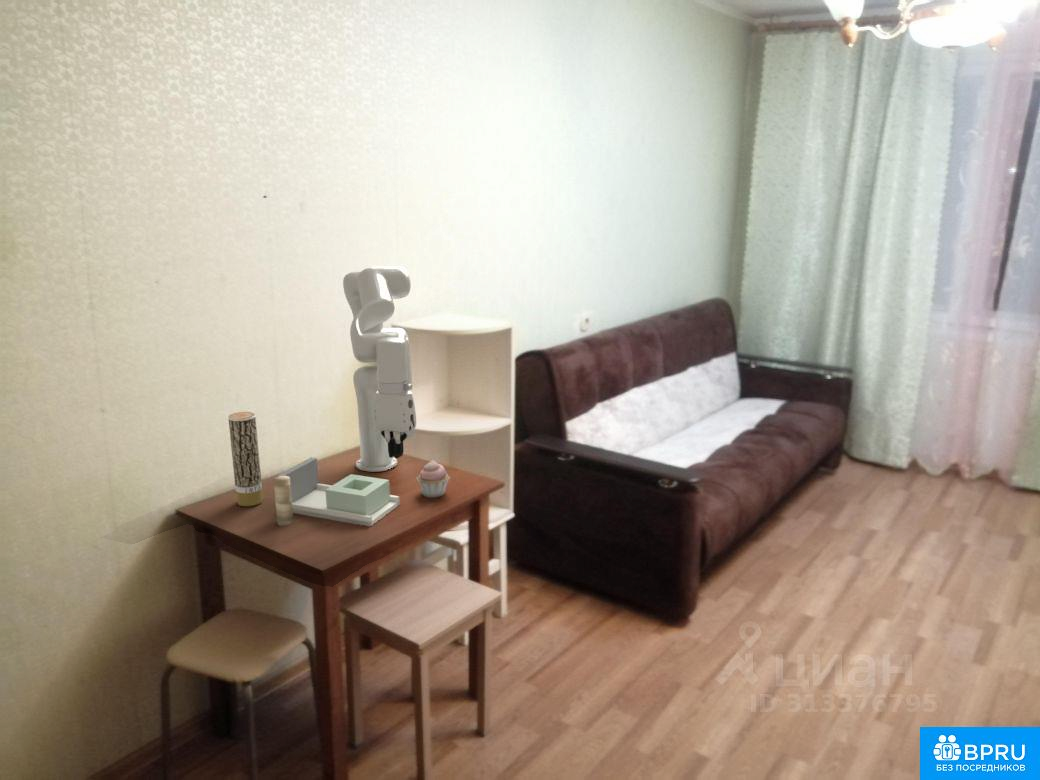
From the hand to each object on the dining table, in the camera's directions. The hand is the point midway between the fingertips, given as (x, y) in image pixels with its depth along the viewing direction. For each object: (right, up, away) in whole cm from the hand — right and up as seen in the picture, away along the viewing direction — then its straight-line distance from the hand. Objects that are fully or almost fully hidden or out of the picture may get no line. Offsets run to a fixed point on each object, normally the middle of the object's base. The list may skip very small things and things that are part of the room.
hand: (396, 456), depth 201 cm
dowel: (-29, -17, +2) cm, 34 cm away
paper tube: (-42, -14, +14) cm, 47 cm away
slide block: (-11, -14, +8) cm, 20 cm away
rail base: (-17, -15, +11) cm, 25 cm away
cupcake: (+7, -13, +20) cm, 25 cm away
